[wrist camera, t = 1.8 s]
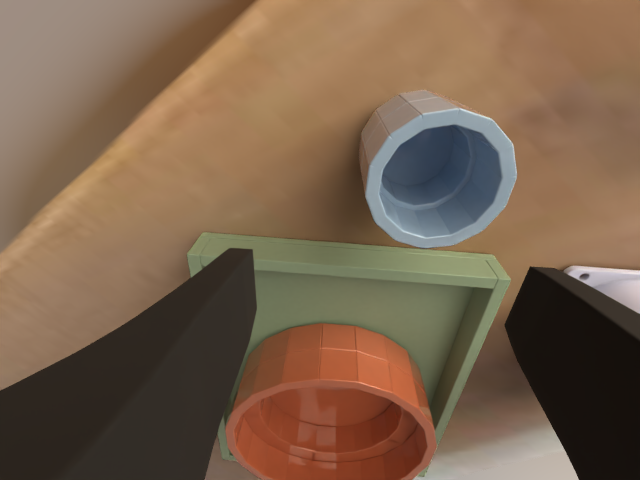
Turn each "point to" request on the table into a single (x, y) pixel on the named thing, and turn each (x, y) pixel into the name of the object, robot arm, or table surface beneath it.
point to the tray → (373, 302)
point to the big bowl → (331, 408)
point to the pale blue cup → (434, 169)
